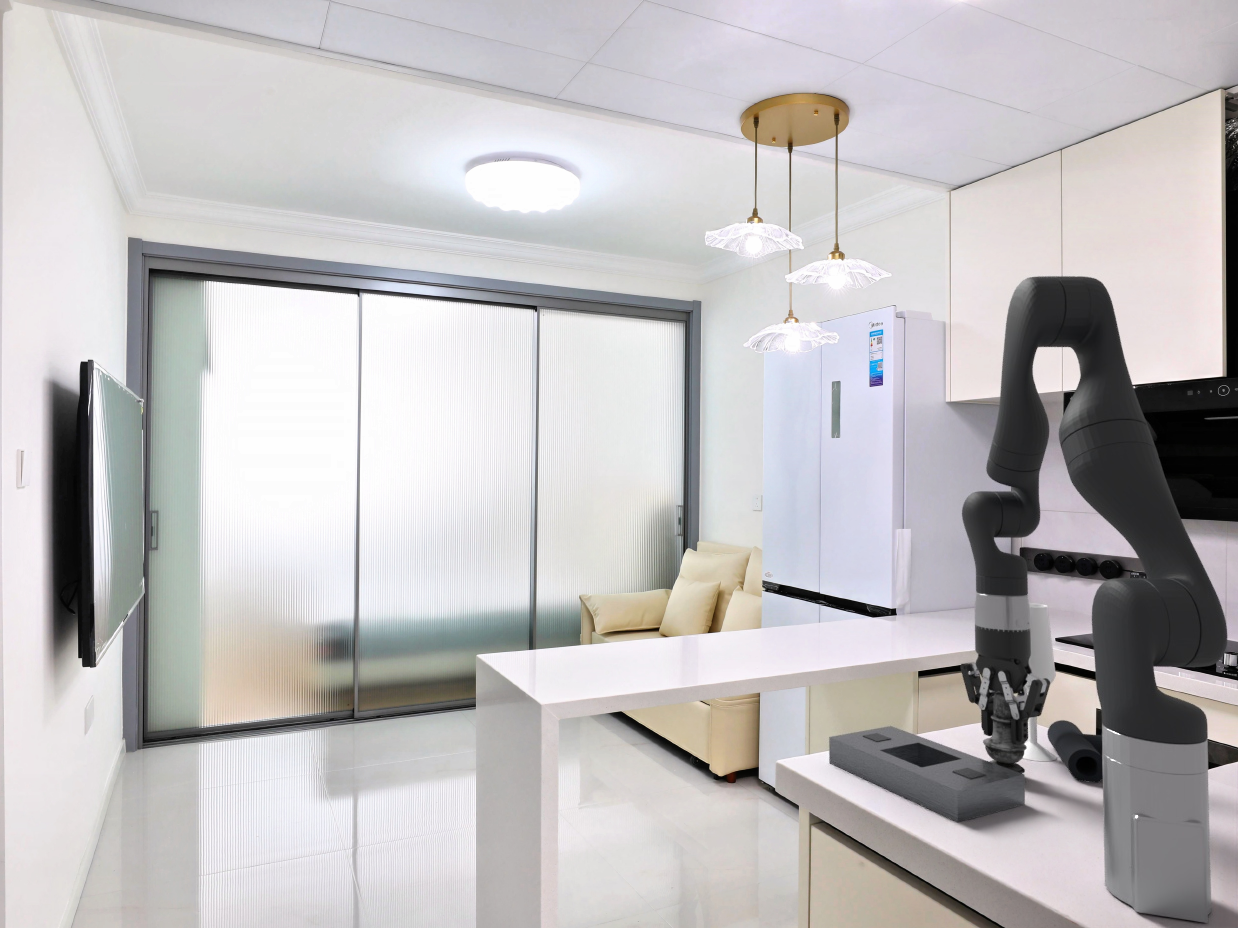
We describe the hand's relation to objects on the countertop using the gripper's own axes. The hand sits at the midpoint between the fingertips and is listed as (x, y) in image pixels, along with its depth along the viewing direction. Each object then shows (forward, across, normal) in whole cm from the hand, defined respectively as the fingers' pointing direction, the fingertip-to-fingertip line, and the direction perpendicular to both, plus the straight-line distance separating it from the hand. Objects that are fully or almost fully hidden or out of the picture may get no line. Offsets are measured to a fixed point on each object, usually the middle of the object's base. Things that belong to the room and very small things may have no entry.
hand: (1004, 738), depth 116 cm
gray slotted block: (+6, +4, +13) cm, 15 cm away
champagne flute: (+6, +5, -13) cm, 15 cm away
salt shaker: (+5, 0, 0) cm, 5 cm away
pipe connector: (+6, -4, -17) cm, 18 cm away
